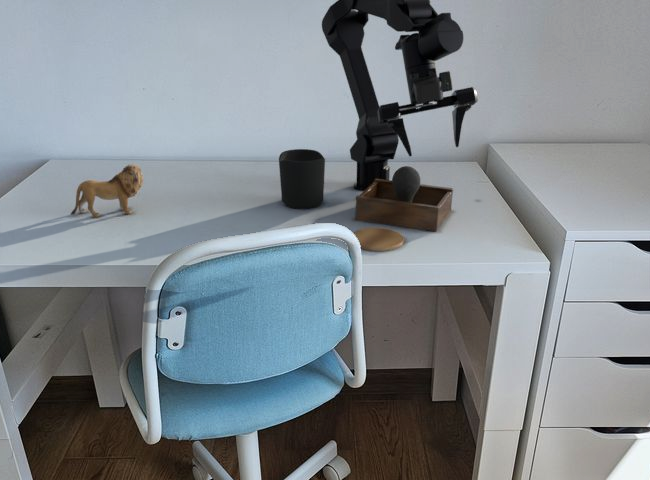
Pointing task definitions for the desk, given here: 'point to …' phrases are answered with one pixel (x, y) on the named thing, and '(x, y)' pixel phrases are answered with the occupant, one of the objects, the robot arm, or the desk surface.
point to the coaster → (379, 239)
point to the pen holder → (302, 178)
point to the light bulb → (406, 183)
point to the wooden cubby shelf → (404, 206)
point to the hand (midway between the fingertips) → (433, 151)
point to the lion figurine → (110, 190)
